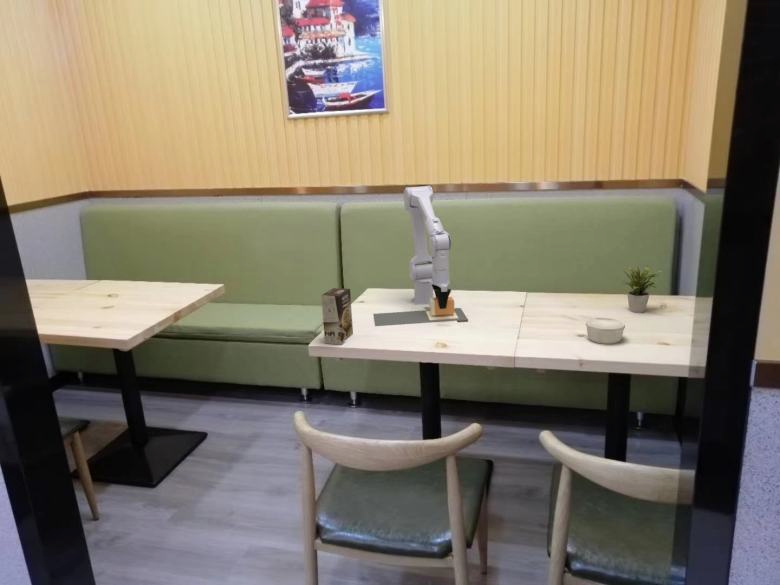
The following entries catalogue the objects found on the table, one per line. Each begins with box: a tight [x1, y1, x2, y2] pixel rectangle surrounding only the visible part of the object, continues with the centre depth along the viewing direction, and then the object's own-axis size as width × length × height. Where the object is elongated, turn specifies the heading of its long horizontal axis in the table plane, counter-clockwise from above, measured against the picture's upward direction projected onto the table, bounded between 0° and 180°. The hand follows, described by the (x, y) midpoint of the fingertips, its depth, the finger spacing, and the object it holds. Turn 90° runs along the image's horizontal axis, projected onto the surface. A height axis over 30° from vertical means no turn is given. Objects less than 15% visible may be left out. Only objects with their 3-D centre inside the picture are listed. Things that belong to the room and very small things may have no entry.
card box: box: [429, 296, 455, 315], centre depth 205 cm, size 8×5×5 cm, turn 94°
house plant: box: [619, 264, 662, 314], centre depth 199 cm, size 14×14×16 cm
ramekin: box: [585, 317, 626, 345], centre depth 177 cm, size 11×11×5 cm
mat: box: [372, 307, 469, 327], centre depth 206 cm, size 14×32×1 cm, turn 94°
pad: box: [426, 311, 458, 321], centre depth 206 cm, size 10×10×1 cm
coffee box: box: [320, 287, 354, 346], centre depth 187 cm, size 9×6×16 cm
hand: (441, 306), depth 205 cm, fingers closed on card box, 5 cm apart
